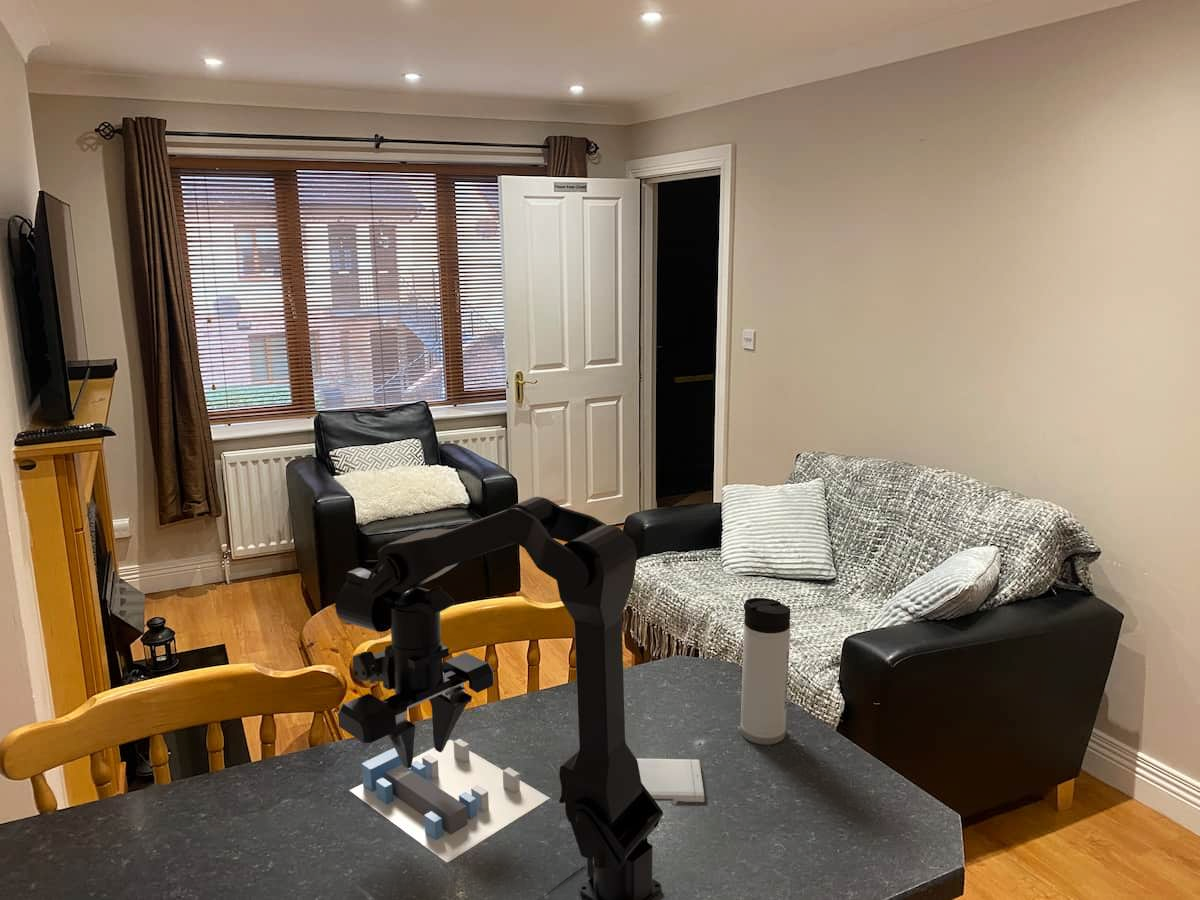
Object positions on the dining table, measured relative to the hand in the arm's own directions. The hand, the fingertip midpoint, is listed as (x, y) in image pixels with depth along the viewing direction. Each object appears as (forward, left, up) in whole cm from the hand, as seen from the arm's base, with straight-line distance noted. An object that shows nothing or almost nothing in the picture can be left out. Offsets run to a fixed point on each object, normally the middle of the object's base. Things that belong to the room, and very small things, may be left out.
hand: (423, 758), depth 106 cm
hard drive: (-17, -23, -8) cm, 30 cm away
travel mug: (-21, -43, -7) cm, 48 cm away
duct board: (0, -4, -7) cm, 8 cm away
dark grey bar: (0, 0, -7) cm, 7 cm away
